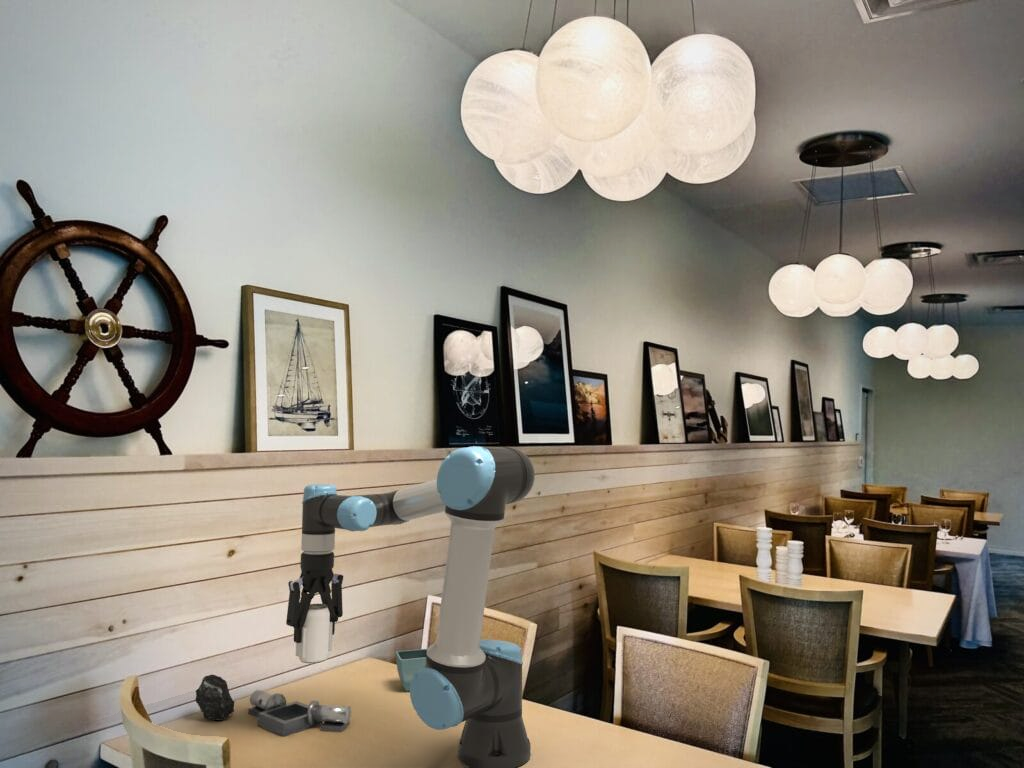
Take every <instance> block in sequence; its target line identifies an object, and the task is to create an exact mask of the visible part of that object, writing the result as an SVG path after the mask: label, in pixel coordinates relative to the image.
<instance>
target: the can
mask: <svg viewBox="0 0 1024 768" xmlns="http://www.w3.org/2000/svg"><path fill="white" fill-rule="evenodd" d="M329 621H330V612H329V610H328V605H325V604H322V603H311V604H310V607H309V610H308V613H307V617H306V620H305V623H304V626H303V627H305V628H307V631H306V656H305V658H301V657H298V660H300V662H301V663H304V664H319V663H323V662H325V661H326V660H327V659H328V658H329V651H328V647H329Z"/></svg>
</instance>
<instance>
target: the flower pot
mask: <svg viewBox="0 0 1024 768" xmlns="http://www.w3.org/2000/svg"><path fill="white" fill-rule="evenodd" d="M427 649H428V648H420V649H409V650H398V651H395V657H396V658H395V659H396V668H397V674H398V677H399V680H400V683H401V684H402V686H403V689H404V690H405V692H410V683H411V680H412V678H413V676H414V675H415V674H416V673H417V672H418V671H419V670H420V669H421V668H425V661H426V654H427Z"/></svg>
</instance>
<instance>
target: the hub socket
mask: <svg viewBox="0 0 1024 768" xmlns="http://www.w3.org/2000/svg"><path fill="white" fill-rule="evenodd" d="M308 707H309V705H308V704H305V703H303V702H300V701H293V702H290V703H286V705H283V706H280V707H277V708H273V709H270V710H267V711H264V712H260V713H258V718H257V726H258V727H260V728H262V729H265V730H267V731H269V732H272V733H273V734H276V735H278V736H280V737H287V736H290V735H293V734H296V733H299V732H301V731H305V730H308V729H311V728H314V727H316V726H319V725H322V724H323V723H324V722H318V721H315V725H309V724H308V722H307V711H308Z"/></svg>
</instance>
